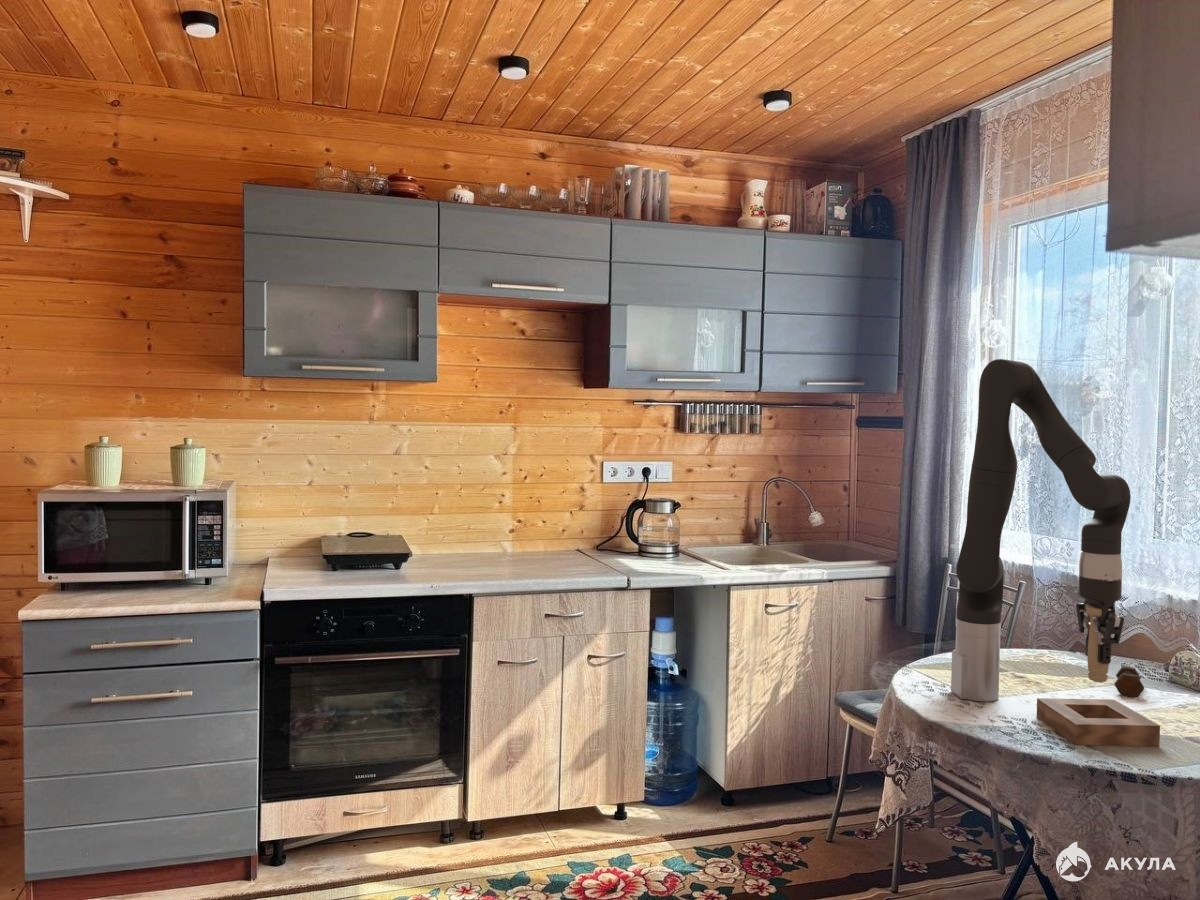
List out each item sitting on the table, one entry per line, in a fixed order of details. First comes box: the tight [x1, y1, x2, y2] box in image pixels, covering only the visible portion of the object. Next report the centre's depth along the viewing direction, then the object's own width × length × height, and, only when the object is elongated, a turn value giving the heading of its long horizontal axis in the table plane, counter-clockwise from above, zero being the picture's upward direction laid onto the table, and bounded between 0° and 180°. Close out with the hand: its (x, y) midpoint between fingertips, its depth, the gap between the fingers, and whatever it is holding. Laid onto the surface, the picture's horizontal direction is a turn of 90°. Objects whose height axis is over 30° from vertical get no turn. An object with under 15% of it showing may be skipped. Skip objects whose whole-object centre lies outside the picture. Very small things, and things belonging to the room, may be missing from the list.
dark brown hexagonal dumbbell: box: [1114, 665, 1145, 699], centre depth 212 cm, size 6×5×15 cm
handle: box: [1086, 604, 1110, 683], centre depth 182 cm, size 5×6×15 cm
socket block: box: [1036, 697, 1161, 747], centre depth 183 cm, size 16×16×4 cm
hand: (1097, 659), depth 182 cm, fingers closed on handle, 4 cm apart
